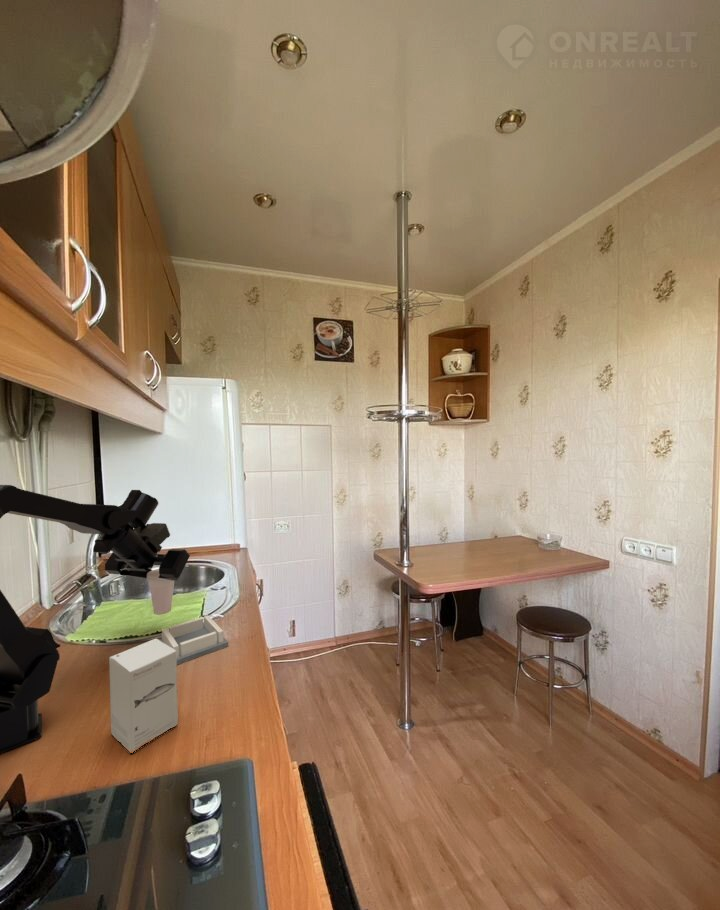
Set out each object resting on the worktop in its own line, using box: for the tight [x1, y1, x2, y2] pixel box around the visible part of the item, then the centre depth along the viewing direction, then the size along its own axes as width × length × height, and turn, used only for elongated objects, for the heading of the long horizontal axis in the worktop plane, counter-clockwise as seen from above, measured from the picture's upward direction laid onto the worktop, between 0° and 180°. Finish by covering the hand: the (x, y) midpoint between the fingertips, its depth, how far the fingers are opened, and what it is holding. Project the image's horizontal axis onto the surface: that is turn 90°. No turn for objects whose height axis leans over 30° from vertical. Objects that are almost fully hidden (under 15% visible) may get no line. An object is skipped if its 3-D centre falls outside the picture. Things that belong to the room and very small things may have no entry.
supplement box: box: [108, 638, 179, 752], centre depth 60 cm, size 7×7×13 cm
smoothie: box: [146, 568, 175, 616], centre depth 90 cm, size 6×6×14 cm
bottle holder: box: [157, 614, 229, 666], centre depth 86 cm, size 12×12×4 cm
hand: (166, 578), depth 92 cm, fingers closed on smoothie, 6 cm apart
